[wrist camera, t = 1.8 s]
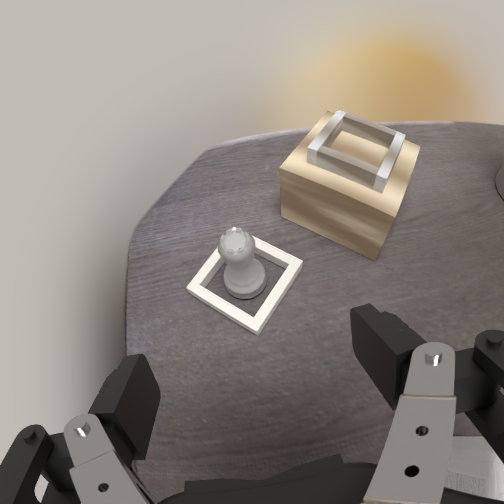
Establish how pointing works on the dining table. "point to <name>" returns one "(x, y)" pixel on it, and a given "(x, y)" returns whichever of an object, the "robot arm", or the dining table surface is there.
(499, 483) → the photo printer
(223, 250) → the rook chess piece
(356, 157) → the birch stand
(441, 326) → the dining table surface
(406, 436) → the robot arm
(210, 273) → the low collar
